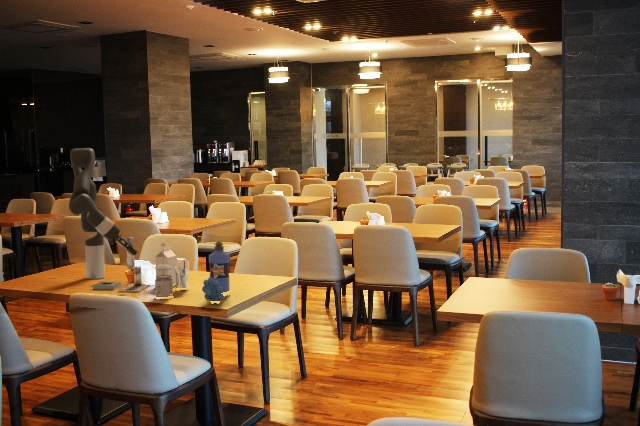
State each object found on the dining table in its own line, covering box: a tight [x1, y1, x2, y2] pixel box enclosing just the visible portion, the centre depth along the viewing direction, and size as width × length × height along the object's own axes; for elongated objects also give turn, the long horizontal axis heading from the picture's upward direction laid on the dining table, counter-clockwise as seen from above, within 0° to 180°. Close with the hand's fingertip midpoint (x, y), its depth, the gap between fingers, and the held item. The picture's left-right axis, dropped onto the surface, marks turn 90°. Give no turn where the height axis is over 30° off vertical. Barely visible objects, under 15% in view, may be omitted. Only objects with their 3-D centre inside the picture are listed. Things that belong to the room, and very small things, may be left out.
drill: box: [126, 236, 136, 269], centre depth 333 cm, size 3×3×14 cm
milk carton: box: [155, 246, 177, 286], centre depth 348 cm, size 7×7×19 cm
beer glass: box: [174, 257, 190, 289], centre depth 340 cm, size 7×7×15 cm
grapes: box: [201, 276, 225, 302], centre depth 307 cm, size 12×7×12 cm, turn 58°
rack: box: [117, 283, 151, 294], centre depth 339 cm, size 18×10×2 cm, turn 175°
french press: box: [154, 242, 174, 297], centre depth 324 cm, size 10×12×25 cm
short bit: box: [133, 266, 143, 286], centre depth 343 cm, size 3×3×9 cm
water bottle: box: [208, 241, 230, 292], centre depth 326 cm, size 9×9×25 cm
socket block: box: [92, 280, 122, 291], centre depth 341 cm, size 10×10×3 cm
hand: (134, 253), depth 334 cm, fingers closed on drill, 3 cm apart
